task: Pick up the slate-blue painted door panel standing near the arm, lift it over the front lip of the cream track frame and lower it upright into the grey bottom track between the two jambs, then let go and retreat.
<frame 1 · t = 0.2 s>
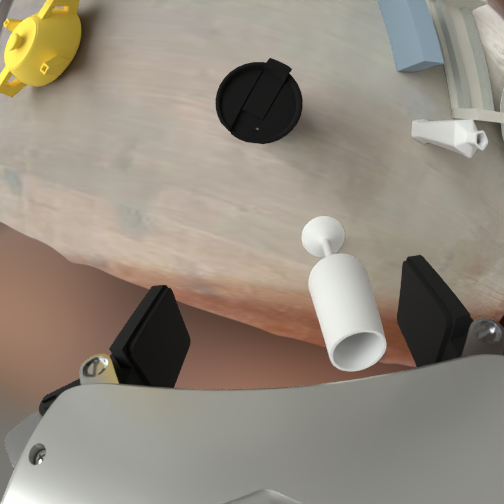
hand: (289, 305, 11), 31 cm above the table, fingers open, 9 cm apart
travel mug: (269, 113, 35), on the table
perfume bottle: (420, 129, 33), on the table
door panel: (397, 35, 28), on the table
track frame: (461, 56, 26), on the table
champagne flute: (323, 236, 42), on the table
teapot: (56, 48, 31), on the table
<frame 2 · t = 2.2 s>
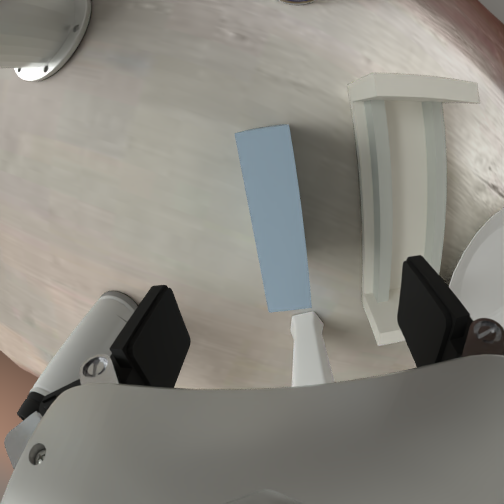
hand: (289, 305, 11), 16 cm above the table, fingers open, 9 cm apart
travel mug: (122, 308, 33), on the table
plate: (496, 272, 27), on the table
perfume bottle: (304, 322, 31), on the table
door panel: (277, 192, 25), on the table
track frame: (403, 200, 24), on the table
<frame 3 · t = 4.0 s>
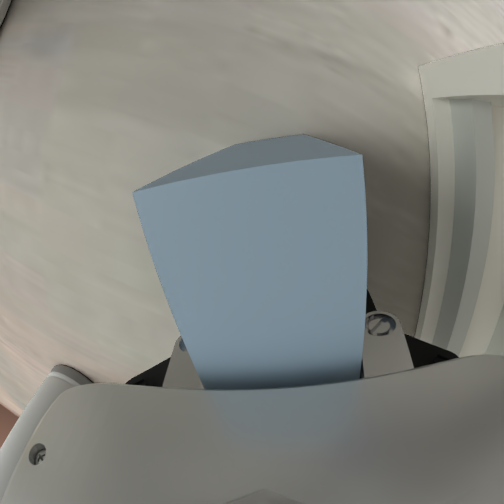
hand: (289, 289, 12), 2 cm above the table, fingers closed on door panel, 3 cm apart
travel mug: (79, 383, 22), on the table
door panel: (288, 264, 14), on the table, touching gripper
track frame: (483, 268, 13), on the table
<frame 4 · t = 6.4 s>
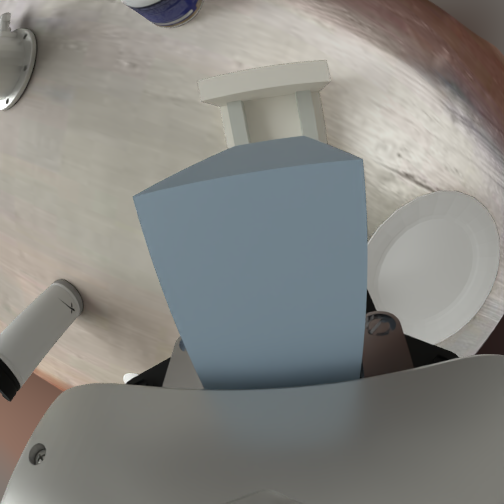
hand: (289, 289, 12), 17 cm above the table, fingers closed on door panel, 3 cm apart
travel mug: (68, 295, 36), on the table
plate: (427, 271, 29), on the table
pill bottle: (177, 7, 19), on the table
door panel: (288, 265, 14), point 14 cm above the table, touching gripper
track frame: (285, 195, 27), on the table
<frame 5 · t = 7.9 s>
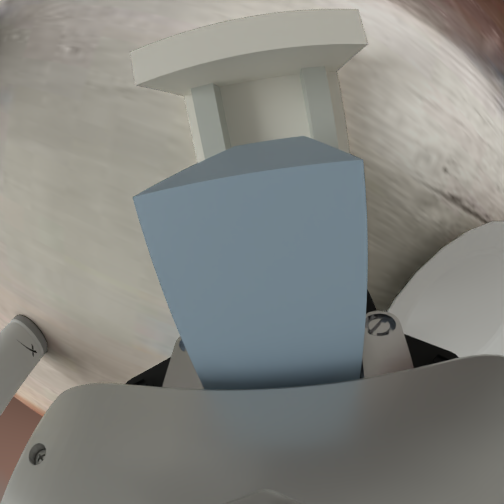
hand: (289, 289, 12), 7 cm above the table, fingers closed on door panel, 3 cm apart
travel mug: (32, 331, 27), on the table
plate: (461, 316, 21), on the table
door panel: (288, 265, 14), point 5 cm above the table, touching gripper
track frame: (284, 227, 18), on the table
when the fingers open (4 cm above the table, at t = 8.8 s): door panel drops 1 cm, resting on track frame.
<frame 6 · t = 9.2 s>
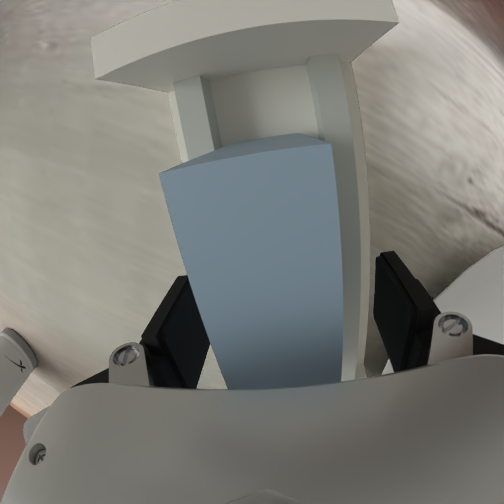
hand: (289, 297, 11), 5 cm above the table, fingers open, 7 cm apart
travel mug: (21, 345, 25), on the table
plate: (476, 337, 18), on the table
door panel: (285, 252, 15), point 1 cm above the table, touching track frame
track frame: (287, 246, 16), on the table
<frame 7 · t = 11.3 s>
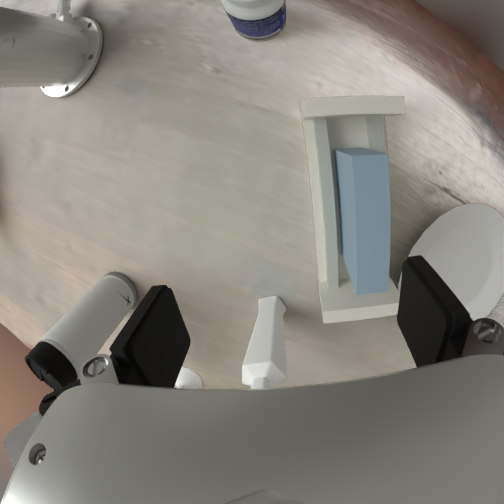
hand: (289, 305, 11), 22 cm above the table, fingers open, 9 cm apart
travel mug: (121, 288, 40), on the table
plate: (456, 271, 32), on the table
perfume bottle: (270, 305, 37), on the table
pill bottle: (260, 22, 23), on the table
door panel: (351, 202, 30), point 1 cm above the table, touching track frame
track frame: (351, 201, 30), on the table
champagne flute: (184, 378, 46), on the table
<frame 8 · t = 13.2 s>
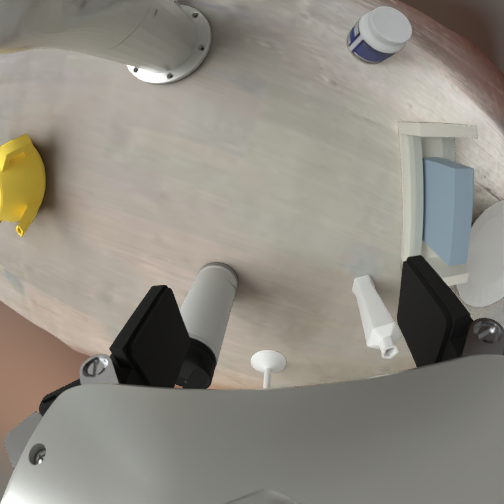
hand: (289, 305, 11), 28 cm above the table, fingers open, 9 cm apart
travel mug: (218, 278, 44), on the table
plate: (491, 251, 37), on the table
perfume bottle: (361, 284, 42), on the table
pill bottle: (365, 46, 27), on the table
door panel: (430, 198, 34), point 1 cm above the table, touching track frame
track frame: (428, 197, 35), on the table
champagne flute: (268, 361, 51), on the table
teapot: (26, 176, 40), on the table
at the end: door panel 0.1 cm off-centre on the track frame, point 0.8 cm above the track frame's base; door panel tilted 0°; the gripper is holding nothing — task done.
